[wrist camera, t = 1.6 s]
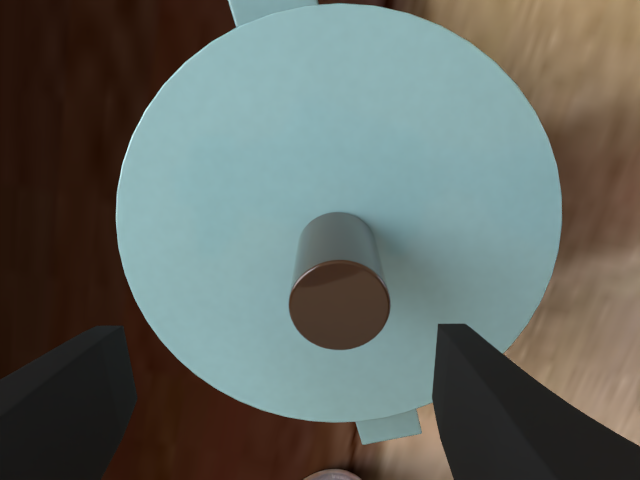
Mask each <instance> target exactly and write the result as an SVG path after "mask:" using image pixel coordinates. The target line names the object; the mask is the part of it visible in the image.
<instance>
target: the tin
mask: <svg viewBox="0 0 640 480" xmlns="http://www.w3.org/2000/svg"><path fill="white" fill-rule="evenodd" d="M303 480H362V479H360V478H359V477H358V476H357V475H355V474H354V473H351V472H349V471H346V470H342V469H327V470H323V471H319V472H317V473H314V474H312V475H310V476H308V477H306V478H305V479H303Z"/></svg>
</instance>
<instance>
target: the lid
mask: <svg viewBox="0 0 640 480" xmlns="http://www.w3.org/2000/svg"><path fill="white" fill-rule="evenodd" d="M116 227H117V237H118V247H119V251H120V256H121V260H122V264H123V268H124V273H125V275H126V278H127V281H128V283H129V286H130V288H131V291H132V294H133V296H134V298H135V300H136V302H137V304H138V306H139V308H140V309H141V311H142V313H143V315H144V317H145V319H146V320H147V322H148V323H149V325H150V326H151V327H152V329H153V330H154V332H155V333H156V334H157V336H158V337H159V339H160V340H161V341H162V342H163V343H164V345H165V346H166V347H167V348H168V349H169V350H170V351H171V352H172V353H173V354H174V355H175V357H176V358H177V359H178V360H179V361H181V362H182V363H183V364H184V365H185V366H186V367H188V368H189V369H190V370H191V371H192V372H193V373H194V374H196V375H197V376H198V377H200V378H201V379H203V380H204V381H206V382H207V383H209V384H210V385H211V386H213V387H214V388H216V389H217V390H219V391H221V392H223V393H225V394H227V395H229V396H231V397H232V398H234V399H236V400H238V401H240V402H243V403H245V404H248V405H250V406H253V407H255V408H258V409H260V410H263V411H267V412H270V413H274V414H277V415H281V416H285V417H290V418H296V419H302V420H308V421H319V422H359V421H366V420H373V419H380V418H385V417H389V416H393V415H397V414H401V413H405V412H409V411H411V410H414V409H417V408H420V407H422V406H425V405H428V404H430V403H433V400H432V390H433V378H434V366H435V354H436V342H437V330H438V324H467V325H468V326H469V327H471V328H472V329H473V330H474V331H476V332H477V333H478V334H479V335H480V336H482V337H483V338H484V339H485V340H486V341H488V342H489V343H490V344H491V345H492V346H494V347H495V348H496V349H497V350H499V351H500V352H501V353H502V354H503V353H504V352H505V351H506V350H507V349H508V348H509V347H510V346H511V345H512V344H513V342H514V341H515V340H516V339H517V337H518V336H519V335H520V333H521V332H522V331H523V329H524V328H525V327H526V325H527V324H528V323H529V321H530V319H531V317H532V316H533V314H534V312H535V311H536V309H537V307H538V305H539V304H540V302H541V300H542V298H543V295H544V293H545V291H546V288H547V286H548V283H549V281H550V279H551V276H552V273H553V269H554V265H555V262H556V258H557V254H558V251H559V243H560V235H561V228H562V193H561V187H560V181H559V174H558V168H557V164H556V161H555V157H554V154H553V151H552V148H551V145H550V142H549V138H548V136H547V134H546V132H545V130H544V128H543V126H542V124H541V122H540V120H539V118H538V116H537V114H536V112H535V110H534V108H533V107H532V105H531V104H530V103H529V101H528V100H527V98H526V97H525V95H524V94H523V93H522V91H521V90H520V88H519V87H518V85H517V84H516V83H515V82H514V81H513V80H512V79H511V78H510V77H509V76H508V75H507V74H506V72H505V71H504V70H503V69H502V68H501V67H500V66H499V65H498V64H497V63H496V62H495V61H494V60H493V59H491V58H490V57H489V56H487V55H486V54H485V53H484V52H482V51H481V50H480V49H478V48H477V47H476V46H475V45H473V44H472V43H471V42H469V41H468V40H466V39H464V38H462V37H461V36H459V35H457V34H455V33H454V32H452V31H450V30H448V29H446V28H445V27H443V26H441V25H439V24H436V23H434V22H431V21H428V20H426V19H423V18H421V17H418V16H415V15H413V14H410V13H407V12H402V11H398V10H393V9H389V8H384V7H379V6H375V5H361V4H347V3H334V4H321V5H307V6H302V7H297V8H293V9H288V10H284V11H280V12H275V13H271V14H269V15H266V16H263V17H261V18H258V19H256V20H253V21H250V22H248V23H245V24H243V25H240V26H238V27H237V28H235V29H233V30H231V31H229V32H228V33H226V34H224V35H222V36H220V37H219V38H217V39H215V40H213V41H212V42H210V43H209V44H208V45H206V46H205V47H204V48H202V49H201V50H200V51H199V52H197V53H196V54H195V55H193V56H192V57H191V58H189V59H188V60H187V61H186V62H185V63H184V64H183V65H182V66H181V67H180V68H179V69H178V70H177V71H176V72H175V73H174V74H173V75H172V76H171V77H170V78H169V79H168V80H167V81H166V82H165V83H164V84H163V86H162V87H161V89H160V90H159V91H158V93H157V94H156V96H155V97H154V98H153V100H152V101H151V103H150V104H149V105H148V107H147V108H146V110H145V111H144V113H143V115H142V117H141V119H140V121H139V123H138V125H137V127H136V129H135V131H134V133H133V135H132V137H131V140H130V143H129V146H128V149H127V152H126V154H125V157H124V160H123V163H122V168H121V173H120V179H119V184H118V189H117V204H116Z"/></svg>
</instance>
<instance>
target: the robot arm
mask: <svg viewBox="0 0 640 480" xmlns="http://www.w3.org/2000/svg"><path fill="white" fill-rule="evenodd" d="M432 400H433V405H434V411H435V416H436V421H437V425H438V430H439V434H440V439H441V442H442V445H443V448H444V451H445V454H446V457H447V460H448V463H449V466H450V469H451V472H452V475H453V478H454V480H640V446H638V445H636V444H635V443H633V442H631V441H629V440H627V439H626V438H624V437H622V436H620V435H619V434H617V433H615V432H614V431H612V430H610V429H609V428H607V427H605V426H604V425H602V424H600V423H599V422H597V421H595V420H594V419H592V418H590V417H589V416H587V415H586V414H584V413H583V412H581V411H579V410H578V409H576V408H575V407H573V406H572V405H570V404H569V403H567V402H566V401H565V400H563V399H562V398H560V397H559V396H557V395H556V394H555V393H553V392H552V391H550V390H549V389H547V388H546V387H545V386H543V385H542V384H541V383H539V382H538V381H537V380H535V379H534V378H533V377H531V376H530V375H529V374H527V373H526V372H525V371H523V370H522V369H521V368H520V367H518V366H517V365H516V364H515V363H513V362H512V361H511V360H510V359H508V358H507V357H506V356H505V355H503V354H502V353H501V352H500V351H499V350H497V349H496V348H495V347H494V346H492V345H491V344H490V343H489V342H488V341H486V340H485V339H484V338H483V337H482V336H480V335H479V334H478V333H477V332H476V331H474V330H473V329H472V328H471V327H469V326H468V325H467V324H438V330H437V342H436V354H435V366H434V378H433V390H432ZM136 401H137V394H136V389H135V383H134V378H133V373H132V368H131V363H130V358H129V353H128V348H127V343H126V338H125V333H124V328H123V326H96V327H94V328H92V329H89V330H87V331H85V332H83V333H81V334H80V335H78V336H76V337H74V338H72V339H70V340H69V341H67V342H65V343H63V344H62V345H60V346H58V347H56V348H55V349H53V350H51V351H50V352H48V353H46V354H44V355H43V356H41V357H39V358H38V359H36V360H34V361H32V362H31V363H29V364H27V365H25V366H24V367H22V368H20V369H19V370H17V371H15V372H13V373H12V374H10V375H8V376H6V377H4V378H2V379H1V380H0V480H101V478H102V476H103V474H104V472H105V471H106V469H107V467H108V465H109V463H110V461H111V459H112V457H113V455H114V454H115V452H116V450H117V448H118V446H119V444H120V442H121V440H122V438H123V436H124V433H125V430H126V428H127V425H128V423H129V420H130V418H131V415H132V412H133V409H134V406H135V404H136Z"/></svg>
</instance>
